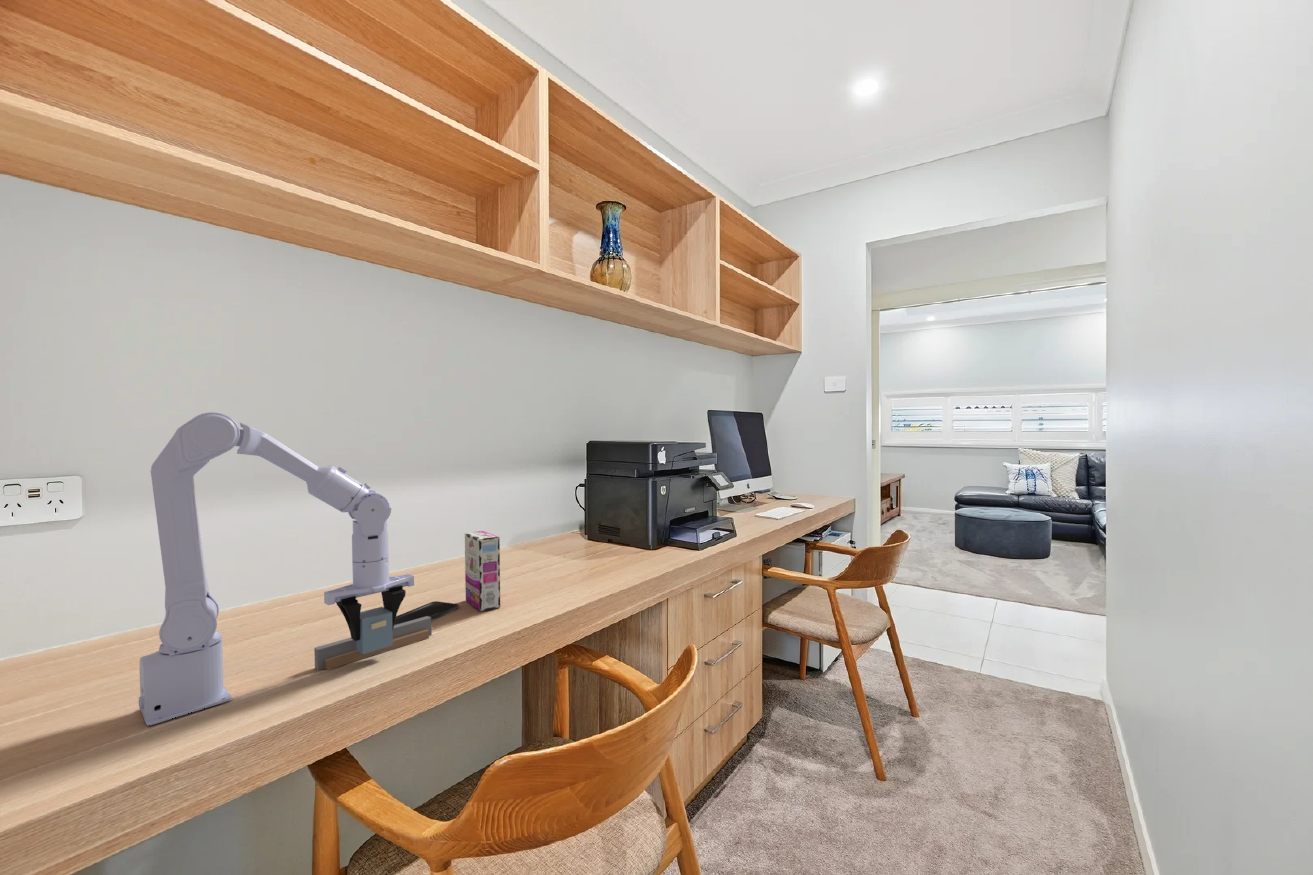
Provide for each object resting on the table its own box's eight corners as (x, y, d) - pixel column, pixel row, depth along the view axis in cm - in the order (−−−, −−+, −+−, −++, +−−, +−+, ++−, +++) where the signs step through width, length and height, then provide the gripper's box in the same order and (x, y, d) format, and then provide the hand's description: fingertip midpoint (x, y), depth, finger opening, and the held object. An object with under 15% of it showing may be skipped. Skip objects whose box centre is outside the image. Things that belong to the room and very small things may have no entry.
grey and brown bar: (320, 672, 91) (319, 651, 91) (314, 667, 93) (314, 647, 93) (434, 636, 106) (433, 618, 106) (427, 633, 108) (427, 616, 108)
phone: (380, 622, 112) (434, 600, 126) (380, 628, 112) (434, 605, 126) (408, 627, 109) (460, 604, 123) (408, 632, 109) (460, 609, 123)
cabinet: (364, 655, 92) (363, 620, 92) (353, 647, 96) (352, 614, 95) (394, 646, 96) (393, 612, 96) (382, 638, 99) (381, 606, 99)
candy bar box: (502, 607, 123) (500, 536, 123) (480, 612, 120) (478, 539, 120) (485, 596, 132) (484, 529, 131) (464, 600, 129) (463, 532, 128)
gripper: (333, 570, 88) (335, 653, 88) (421, 554, 99) (422, 627, 99) (319, 564, 92) (321, 642, 93) (404, 549, 103) (405, 619, 103)
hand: (372, 634), depth 96 cm, fingers closed on cabinet, 5 cm apart
